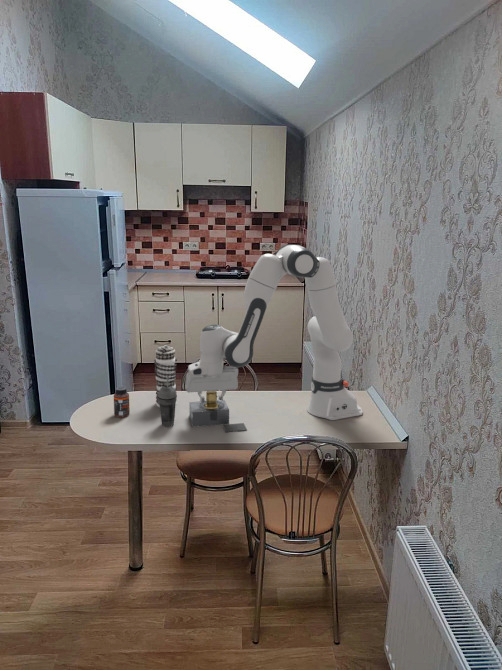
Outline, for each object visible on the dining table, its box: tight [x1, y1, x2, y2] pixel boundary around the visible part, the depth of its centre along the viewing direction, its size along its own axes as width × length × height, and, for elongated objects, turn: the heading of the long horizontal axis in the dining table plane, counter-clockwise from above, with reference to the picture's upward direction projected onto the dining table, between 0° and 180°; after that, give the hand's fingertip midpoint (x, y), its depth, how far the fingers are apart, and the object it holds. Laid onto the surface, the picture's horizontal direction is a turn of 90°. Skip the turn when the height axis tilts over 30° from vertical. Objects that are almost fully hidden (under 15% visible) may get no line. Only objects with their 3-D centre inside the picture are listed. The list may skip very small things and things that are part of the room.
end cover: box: [205, 391, 218, 409], centre depth 202 cm, size 5×5×10 cm
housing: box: [188, 399, 230, 428], centre depth 203 cm, size 14×10×6 cm
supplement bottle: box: [113, 386, 131, 419], centre depth 205 cm, size 6×6×11 cm
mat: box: [222, 422, 248, 433], centre depth 197 cm, size 8×6×1 cm
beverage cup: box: [158, 376, 178, 428], centre depth 197 cm, size 7×7×20 cm
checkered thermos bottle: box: [153, 344, 178, 408], centre depth 215 cm, size 9×9×25 cm
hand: (211, 400), depth 202 cm, fingers open, 6 cm apart
